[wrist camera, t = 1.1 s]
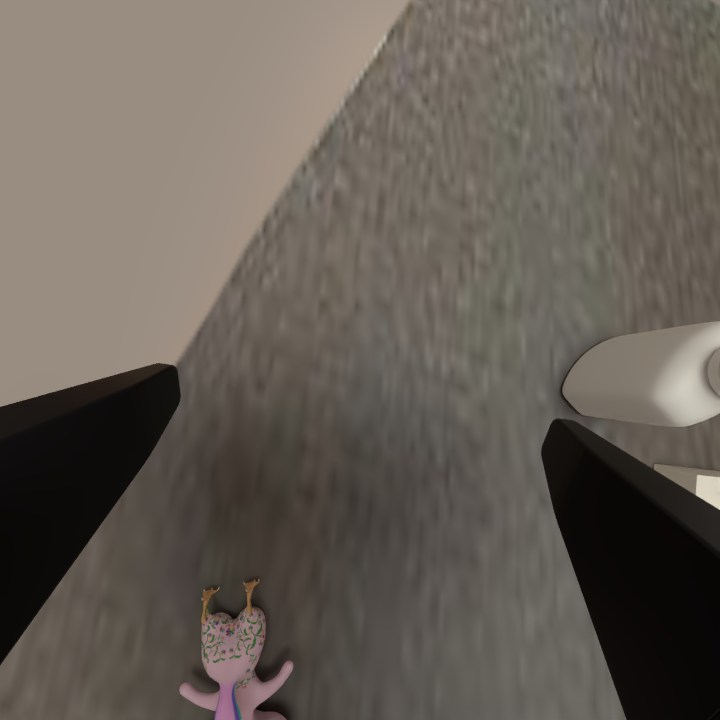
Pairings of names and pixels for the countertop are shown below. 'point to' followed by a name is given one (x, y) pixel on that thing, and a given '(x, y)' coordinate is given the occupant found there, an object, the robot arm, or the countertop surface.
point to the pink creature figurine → (235, 663)
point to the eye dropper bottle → (650, 377)
